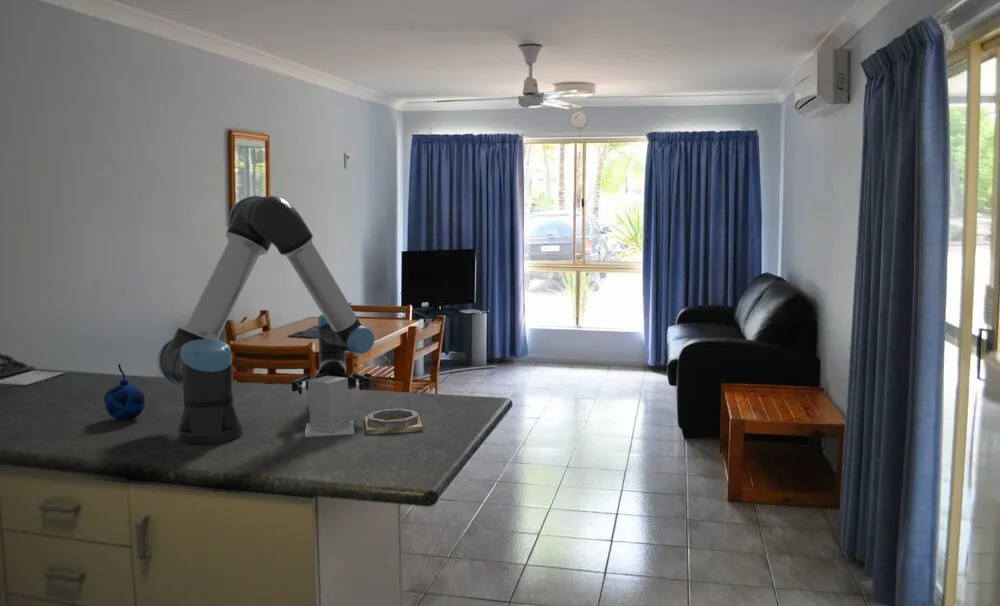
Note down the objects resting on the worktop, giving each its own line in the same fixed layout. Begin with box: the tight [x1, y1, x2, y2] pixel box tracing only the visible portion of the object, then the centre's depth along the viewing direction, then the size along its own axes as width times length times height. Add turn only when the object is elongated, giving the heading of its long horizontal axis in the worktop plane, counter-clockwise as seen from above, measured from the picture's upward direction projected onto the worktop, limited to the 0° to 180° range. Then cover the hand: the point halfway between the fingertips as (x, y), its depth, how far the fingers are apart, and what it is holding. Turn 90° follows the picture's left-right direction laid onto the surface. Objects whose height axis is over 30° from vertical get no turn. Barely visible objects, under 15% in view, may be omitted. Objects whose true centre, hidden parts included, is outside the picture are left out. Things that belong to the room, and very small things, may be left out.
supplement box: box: [307, 376, 351, 432], centre depth 217 cm, size 7×7×13 cm
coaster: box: [304, 419, 355, 438], centre depth 217 cm, size 12×12×1 cm
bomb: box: [103, 363, 146, 422], centre depth 228 cm, size 10×11×15 cm
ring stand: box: [364, 408, 424, 435], centre depth 220 cm, size 14×14×3 cm
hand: (330, 391), depth 218 cm, fingers open, 13 cm apart
